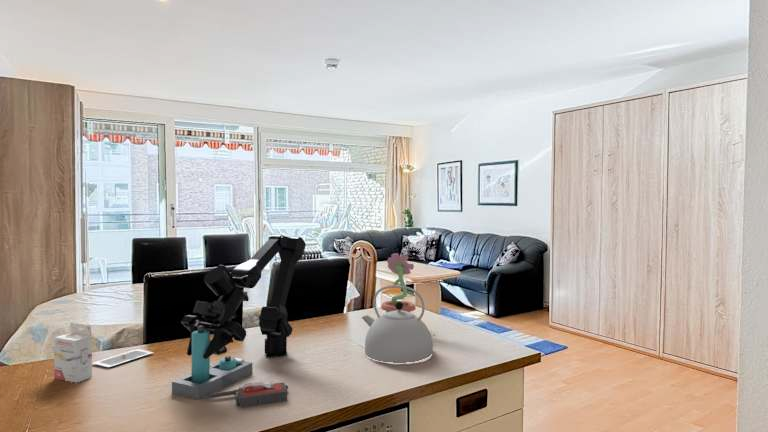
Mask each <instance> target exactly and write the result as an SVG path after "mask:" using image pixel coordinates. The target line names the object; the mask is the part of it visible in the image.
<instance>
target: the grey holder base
mask: <svg viewBox="0 0 768 432" xmlns="http://www.w3.org/2000/svg"><path fill="white" fill-rule="evenodd" d="M251 374H253V362H250V361H246V360H245V359H244V358H240V357H235V358H234V357H231V355H226V356H224V358H222V359H221V358H220V360H219V361H218V362H216V363H212V364H210V379H209V380H207V381H205V382H203V383H201V384H199V383H194V382H191V377H192V372H191V373H190V374H187V375H184V376H182V377H179V378H177V379H175V380H173V381H171V394H173V395H178V396H181V397H186V398H191V399H194V400H201V399H202V398H206V395H207V394H212V393H216V392H217V391H219V390H220V389H223V388H225V387H227V386H229V385H231V384H233V383H235V382H237V381H239V380H241V379H243V378H245V377H247V376H249V375H251Z"/></svg>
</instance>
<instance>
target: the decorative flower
mask: <svg viewBox="0 0 768 432" xmlns="http://www.w3.org/2000/svg"><path fill="white" fill-rule="evenodd" d="M408 259H409V256H407V255H406V254H403V253H401V254H399V253H396V252H394V253H392V254H391V256H388V258H387V261H386V262H387V264H388V265H387V268H388V269H389V270H390V271H391V272H392V273H393V274H396V275H398V279H395V281H394V282H393V285H398V284H400V286H406V287H407V285H406V283H405V280H404V275H410V274H411V270H414V268H415V265H414V263H408V261H407V260H408ZM401 289H402V293H401V294H399V295H398V294H397V295H394V296H392V295H388V294H386V296H388V297H390V298H391V300H388V301H384V302H382V303H381V305H380V308H381V310H383V311H386V312H385V313H387V312H390V311H396V310H397V309H396V307H395V304H396V303H397V302H402V304H403V308H402V309H401V310H402V311H407V312H410V313H411V312H413V311H416V309H417V308H416V305H415V303H413V302H411V301H405V300H403V299H405V298H406V297H407V295H410V296H412V297H416V294H415V293H414V292H412V291H411V290H408V289H404V288H401Z"/></svg>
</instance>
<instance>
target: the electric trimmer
mask: <svg viewBox="0 0 768 432" xmlns="http://www.w3.org/2000/svg"><path fill="white" fill-rule="evenodd" d="M211 340H212V339H210V342H211ZM227 351H228V348H227V346H224V347H222V348H221V349H219V350H218V351H217V352H215V354H217V355H218V354H222V353H223V354H224V353H227Z"/></svg>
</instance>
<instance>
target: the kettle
mask: <svg viewBox="0 0 768 432" xmlns="http://www.w3.org/2000/svg"><path fill="white" fill-rule="evenodd" d="M394 288H395V289H398V288H399V289H402V288H404V289H407V291H411V292H412V293H414V294H415V296H417V297H418V298H419V300H420V302H421V312H420V315H419V316H417V315H415V314H414V313H412V312H411V311H410V312H407V311H402V310H401V309H402V308H403V304H402V302H397V303H396V304H395V307H396V309H397V310H396V311H390V312H387V313H386V312H385V313H383V314H382V315H380V314H379V311H378V308H377V304H376V301H377V297H378V295H379V293H380V292H382V291H384V290H386V289H394ZM372 300H373V301H372V302H373V303H372V304H373V309H374V312H375V314H376V316H377V318H376V319H375V318H373V317H372V316H370V315H369V314H365V315H364V316H361V319H362V320H363V322H365V324H366V325H367V326H369V328H368V330H367V333H366V335H365V340H364V342H365V343H364V351H365V354H366V355H367V356H368V357H370V358H372V359H375V360H378V361H383V362H393V363H406V362H415V361H419V360H422V359H425V358H427V357H429V356H430V355H431V354H432V353H433V354H434V345H433V343H434V342H433V338H432V335H431V332H430V330H429V328H428V326H427V325H426V323H425V321H423V320H422V318H423V316H424V314H425V309H426V308H425V301H424V298H423V297H422V295H421V294H420V293H419V292H418V291H417V290H416V289H414V288H412V287H409V286H407V285H406V286H401V285H398V284H397V285H394V284H392V285H386V286H382V287H381V288H379V289H378V290H377V291H376V292H375V293H374V296H373V299H372ZM365 354H364V355H365Z"/></svg>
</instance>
